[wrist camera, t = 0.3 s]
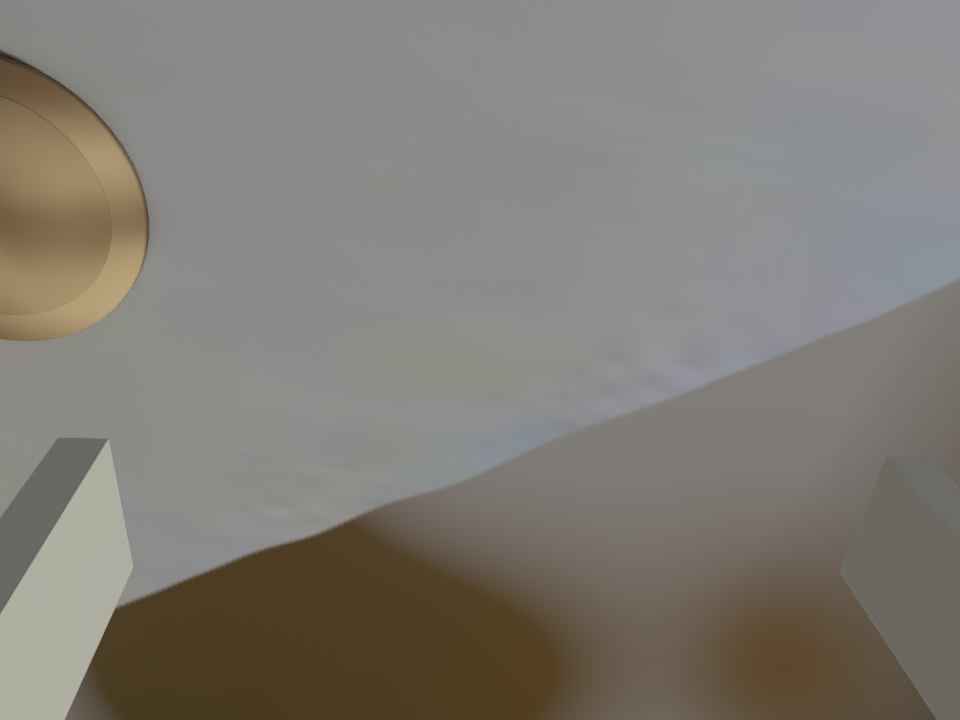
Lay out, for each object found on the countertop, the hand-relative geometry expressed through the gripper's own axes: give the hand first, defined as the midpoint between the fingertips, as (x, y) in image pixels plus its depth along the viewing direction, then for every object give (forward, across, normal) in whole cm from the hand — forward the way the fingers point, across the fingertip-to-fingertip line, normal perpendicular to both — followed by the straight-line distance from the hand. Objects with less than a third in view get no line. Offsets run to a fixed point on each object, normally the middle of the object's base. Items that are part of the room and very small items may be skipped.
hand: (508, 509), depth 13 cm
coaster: (+27, -22, -4) cm, 35 cm away
